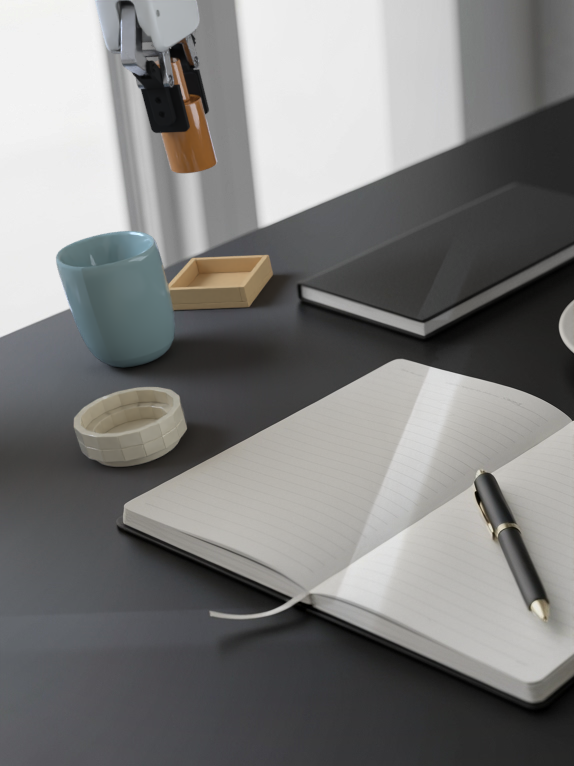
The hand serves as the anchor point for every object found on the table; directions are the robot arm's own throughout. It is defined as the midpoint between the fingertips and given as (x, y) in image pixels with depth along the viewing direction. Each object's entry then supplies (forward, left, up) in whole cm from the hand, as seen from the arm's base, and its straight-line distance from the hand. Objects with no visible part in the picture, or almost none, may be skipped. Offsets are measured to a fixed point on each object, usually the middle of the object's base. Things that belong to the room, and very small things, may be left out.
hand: (181, 120), depth 113 cm
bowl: (+3, -28, -17) cm, 33 cm away
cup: (-3, -13, -17) cm, 22 cm away
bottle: (0, 0, -4) cm, 4 cm away
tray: (0, 0, -17) cm, 17 cm away
